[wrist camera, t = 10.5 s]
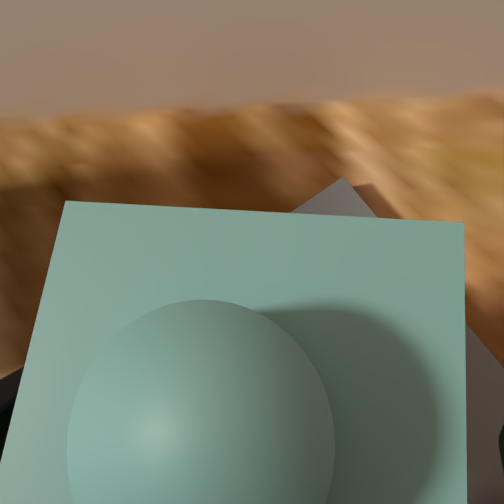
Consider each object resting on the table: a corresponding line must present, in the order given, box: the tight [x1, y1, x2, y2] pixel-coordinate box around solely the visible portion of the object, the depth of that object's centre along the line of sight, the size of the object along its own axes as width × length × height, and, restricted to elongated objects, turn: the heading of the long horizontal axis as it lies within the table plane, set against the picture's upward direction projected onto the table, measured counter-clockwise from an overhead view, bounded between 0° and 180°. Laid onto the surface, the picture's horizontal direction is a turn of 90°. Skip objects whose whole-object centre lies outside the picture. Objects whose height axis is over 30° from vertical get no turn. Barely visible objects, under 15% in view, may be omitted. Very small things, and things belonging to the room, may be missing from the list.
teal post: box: [0, 201, 467, 504], centre depth 10 cm, size 5×5×14 cm
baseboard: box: [290, 177, 504, 504], centre depth 16 cm, size 20×14×2 cm
